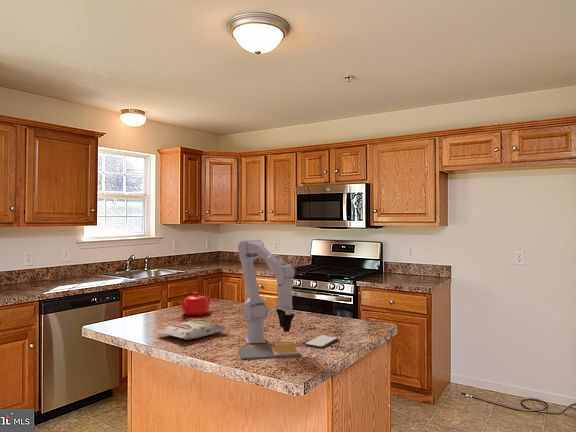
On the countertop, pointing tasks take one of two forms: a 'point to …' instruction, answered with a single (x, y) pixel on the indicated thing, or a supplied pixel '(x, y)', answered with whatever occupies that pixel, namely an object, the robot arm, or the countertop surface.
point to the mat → (264, 353)
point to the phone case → (321, 341)
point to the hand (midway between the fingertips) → (284, 329)
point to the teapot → (195, 305)
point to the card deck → (285, 346)
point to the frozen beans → (192, 329)
